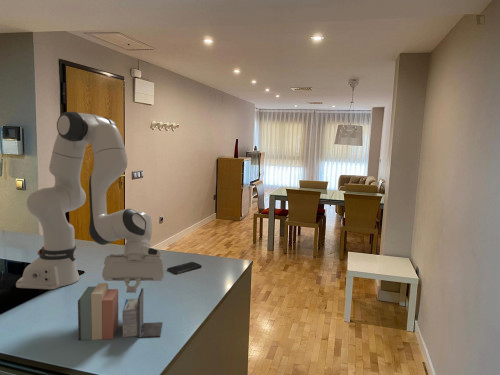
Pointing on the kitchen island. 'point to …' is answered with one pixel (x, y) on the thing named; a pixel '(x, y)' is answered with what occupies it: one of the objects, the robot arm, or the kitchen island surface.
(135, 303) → the medicine box
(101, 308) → the books
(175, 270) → the phone
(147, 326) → the bookends
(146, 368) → the kitchen island surface
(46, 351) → the kitchen island surface
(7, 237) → the kitchen island surface
